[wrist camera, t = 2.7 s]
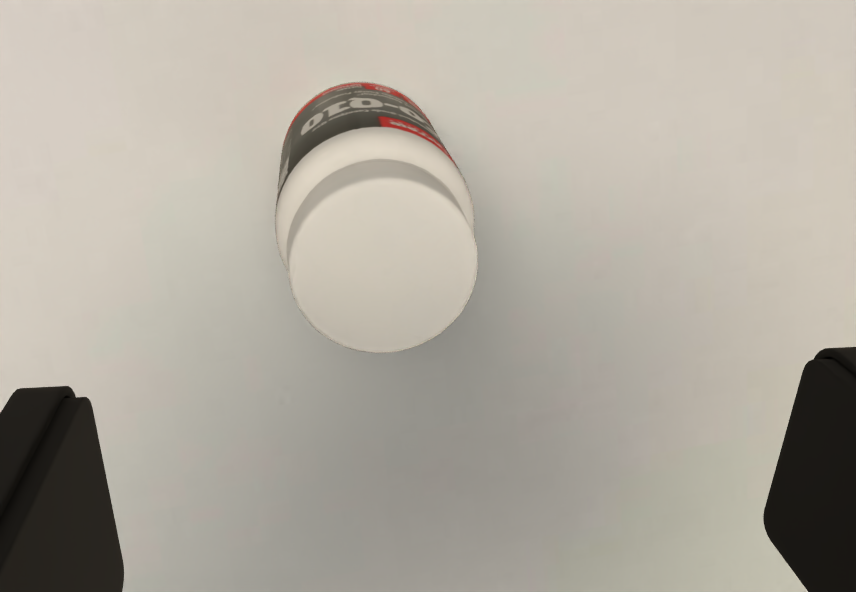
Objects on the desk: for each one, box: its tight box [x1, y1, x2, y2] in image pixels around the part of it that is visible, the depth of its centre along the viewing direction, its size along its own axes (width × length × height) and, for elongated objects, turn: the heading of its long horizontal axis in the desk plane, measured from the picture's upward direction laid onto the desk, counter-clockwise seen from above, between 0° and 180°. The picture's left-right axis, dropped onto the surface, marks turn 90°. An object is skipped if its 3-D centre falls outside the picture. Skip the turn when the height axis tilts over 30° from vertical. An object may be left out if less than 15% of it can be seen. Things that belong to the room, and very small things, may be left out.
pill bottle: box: [275, 82, 478, 353], centre depth 20 cm, size 5×5×8 cm
